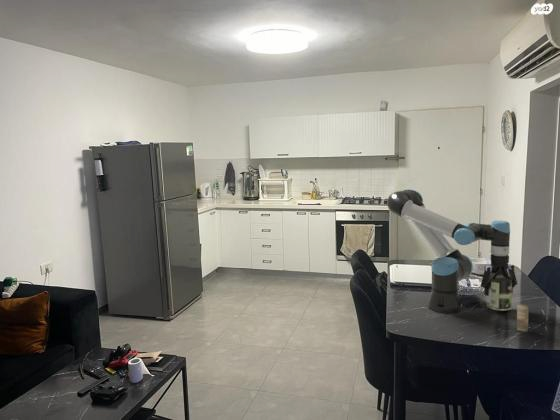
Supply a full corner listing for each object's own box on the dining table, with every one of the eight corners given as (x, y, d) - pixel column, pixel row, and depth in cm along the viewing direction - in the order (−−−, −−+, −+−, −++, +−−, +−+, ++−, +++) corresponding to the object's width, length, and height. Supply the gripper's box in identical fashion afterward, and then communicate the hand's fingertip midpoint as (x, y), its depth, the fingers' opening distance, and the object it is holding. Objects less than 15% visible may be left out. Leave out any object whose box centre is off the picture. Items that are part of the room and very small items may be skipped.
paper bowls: (462, 270, 258) (462, 258, 257) (485, 268, 260) (485, 256, 259) (476, 277, 243) (476, 264, 242) (500, 275, 245) (500, 262, 244)
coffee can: (511, 304, 193) (512, 275, 192) (510, 312, 185) (511, 282, 183) (487, 301, 199) (488, 273, 197) (485, 308, 190) (485, 279, 189)
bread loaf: (522, 332, 167) (522, 308, 166) (514, 328, 171) (514, 305, 170) (530, 330, 168) (530, 307, 167) (522, 327, 172) (523, 304, 171)
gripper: (483, 258, 183) (481, 305, 186) (527, 254, 187) (525, 301, 190) (472, 254, 191) (471, 300, 194) (515, 250, 195) (513, 296, 197)
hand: (498, 300), depth 192 cm, fingers closed on coffee can, 10 cm apart
